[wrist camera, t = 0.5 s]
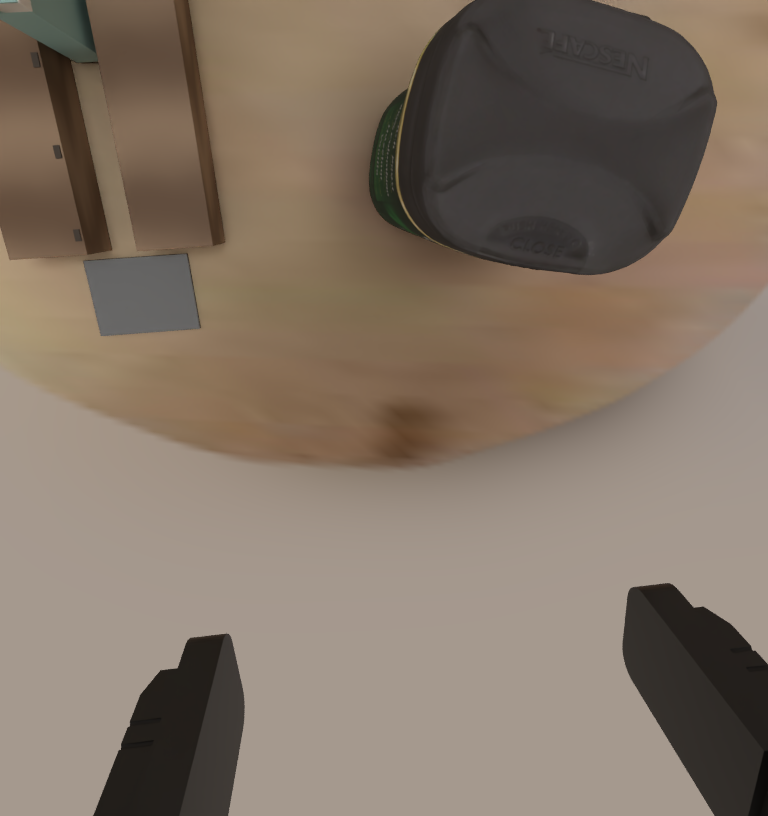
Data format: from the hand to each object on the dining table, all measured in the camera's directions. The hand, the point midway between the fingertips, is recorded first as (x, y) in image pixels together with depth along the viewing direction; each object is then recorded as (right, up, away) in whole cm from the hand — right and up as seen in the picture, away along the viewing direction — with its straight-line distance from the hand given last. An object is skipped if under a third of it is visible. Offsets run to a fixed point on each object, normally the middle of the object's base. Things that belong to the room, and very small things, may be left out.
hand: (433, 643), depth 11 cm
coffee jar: (+3, +19, +22) cm, 29 cm away
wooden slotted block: (-16, +23, +19) cm, 34 cm away
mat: (-16, +12, +23) cm, 30 cm away
